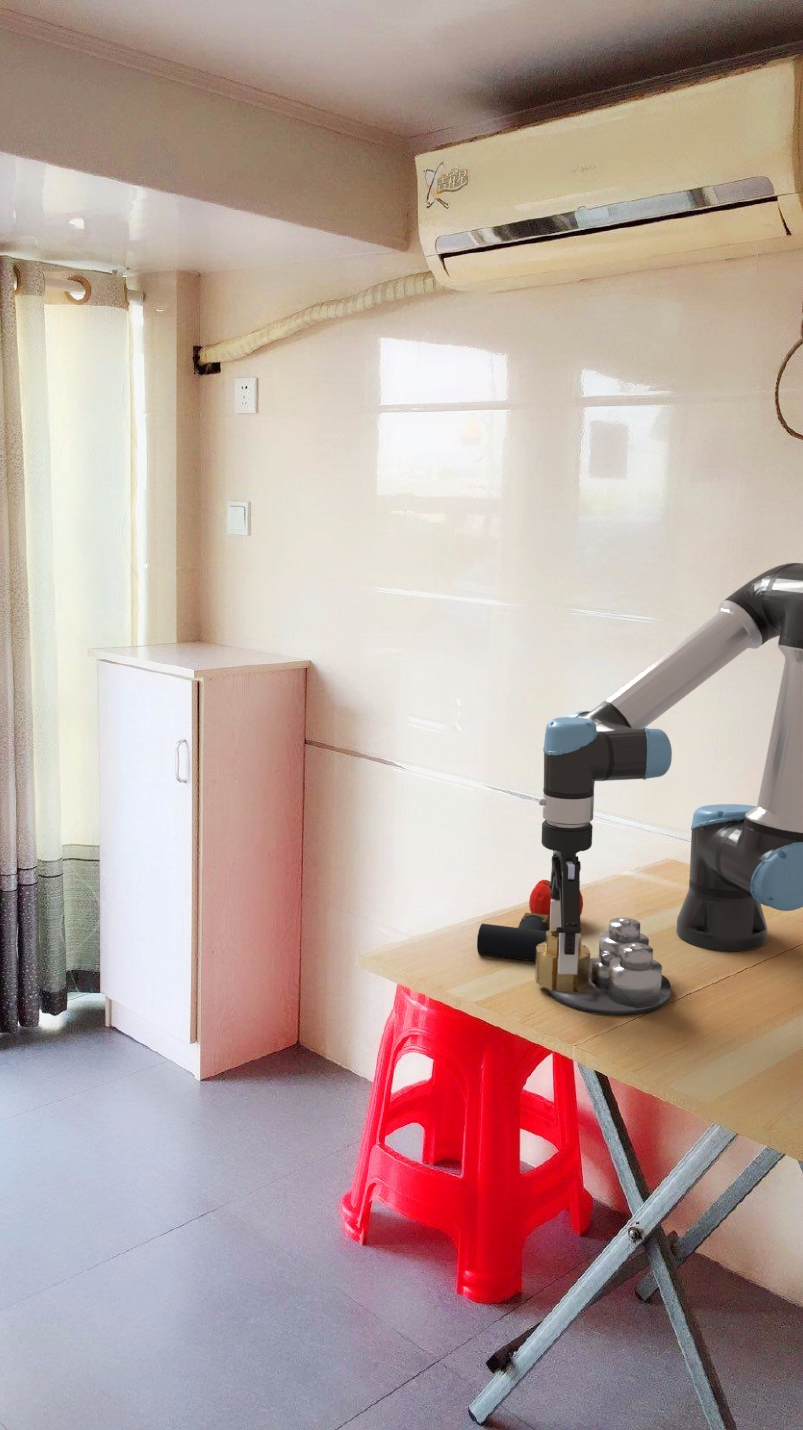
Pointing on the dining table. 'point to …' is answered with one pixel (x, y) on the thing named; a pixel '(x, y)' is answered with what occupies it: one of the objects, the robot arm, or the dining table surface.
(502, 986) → the dining table surface
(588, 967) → the brass stepped collar
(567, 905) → the robot arm
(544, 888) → the tomato
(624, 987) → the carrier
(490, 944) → the pipe connector
